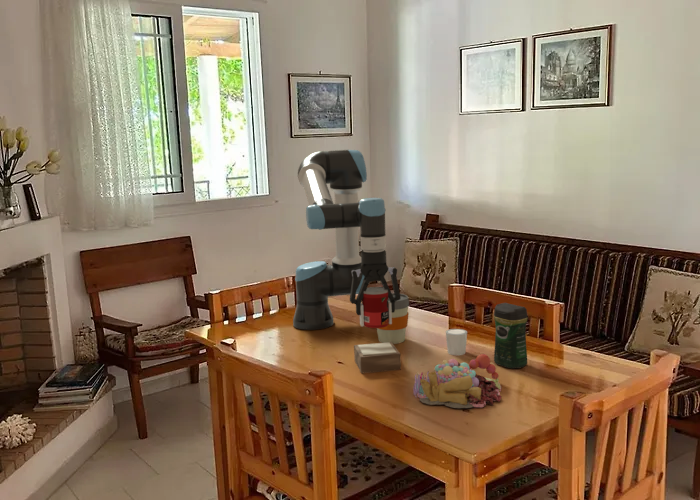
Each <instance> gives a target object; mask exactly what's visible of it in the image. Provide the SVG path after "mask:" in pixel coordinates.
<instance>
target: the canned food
mask: <svg viewBox="0 0 700 500" xmlns="http://www.w3.org/2000/svg"><path fill="white" fill-rule="evenodd" d="M361 303H362V304H363V312H364V326H363V327H366V328H370V329H377V328H382V327H386V326H387V325H388V323H389V305H388V290H385V289H384V287H383V286H382V287H381V286H367V289H366V291H364V297H363V299H362V302H361Z"/></svg>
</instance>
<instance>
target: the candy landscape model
mask: <svg viewBox="0 0 700 500" xmlns="http://www.w3.org/2000/svg"><path fill="white" fill-rule="evenodd" d="M478 368H479V369H481V370H484V369H485V370H486V373H488V374H491V378H489V377H484V376H482V375H479V374H477V372H476V370H477V369H478ZM496 370H497V368H496V365H495V364H494V363H491V358H490V357H489V356H488V355H487V354H485V353H482V354H480V353H479V354H478V355H477V356H476V358H475V359H473V358H472V359H470V360H469V363H467V362H461V363H460V362H458V359H457V360H456V359H455V358H450V359H449V360H447V359H444V360H443V361H442V363H439V364H436V365H435V367H434V371H430V372H429V371H427V372H426V375H424V374H423V372H421V373H420V374H419V371H417V372H416V374H415V375H414V385H413V390H412V391H413V395H416V397H417V398H419V401H420V402H421V403H423V404H426V405H429V406H430V405H431V406H432V405H436V406H437V405H439V406H440V405H444V406H446V407H450V408H452V409H453V408H454V409H470V408H484V407H485V406H486V405H487V404H488V405H490V406H494V402H495V401H496V402H500V401H501V399H502V397H503V396H501V393H500V392H502V385H501V383H500V382H499V373H498V372H496ZM499 391H500V392H499Z"/></svg>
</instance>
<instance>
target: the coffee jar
mask: <svg viewBox="0 0 700 500" xmlns="http://www.w3.org/2000/svg"><path fill="white" fill-rule="evenodd" d="M493 311H494V312H493V319H494V324H495V339H494V350H493V351H494V352H493V353H494V354H493V362H494V364H497V365H499V366H501V367H504V368H506V369H507V368H508V369H521V367H522V368H524V367H525V366H527V365H528V351H527V335H526V326H527V322H528V311H527V308H526V307H525V306H520V305H516V304H511V303H507V302H502V303H498V304H496V305H495V307H494V310H493Z"/></svg>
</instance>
